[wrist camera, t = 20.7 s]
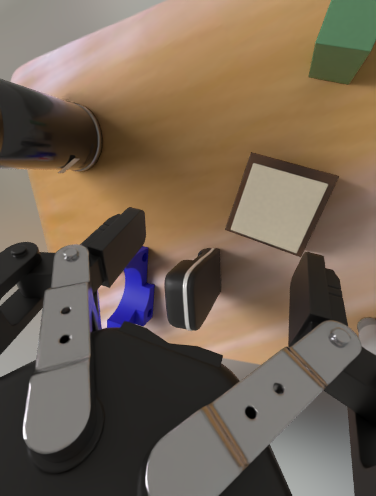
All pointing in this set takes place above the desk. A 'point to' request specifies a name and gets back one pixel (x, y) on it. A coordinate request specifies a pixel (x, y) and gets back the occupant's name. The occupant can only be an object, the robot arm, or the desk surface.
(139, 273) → the cable clip
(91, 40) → the desk surface
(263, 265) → the desk surface
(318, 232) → the desk surface
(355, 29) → the green block
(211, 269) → the battery charger
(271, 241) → the cream block
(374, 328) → the lightbulb
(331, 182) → the walnut base
